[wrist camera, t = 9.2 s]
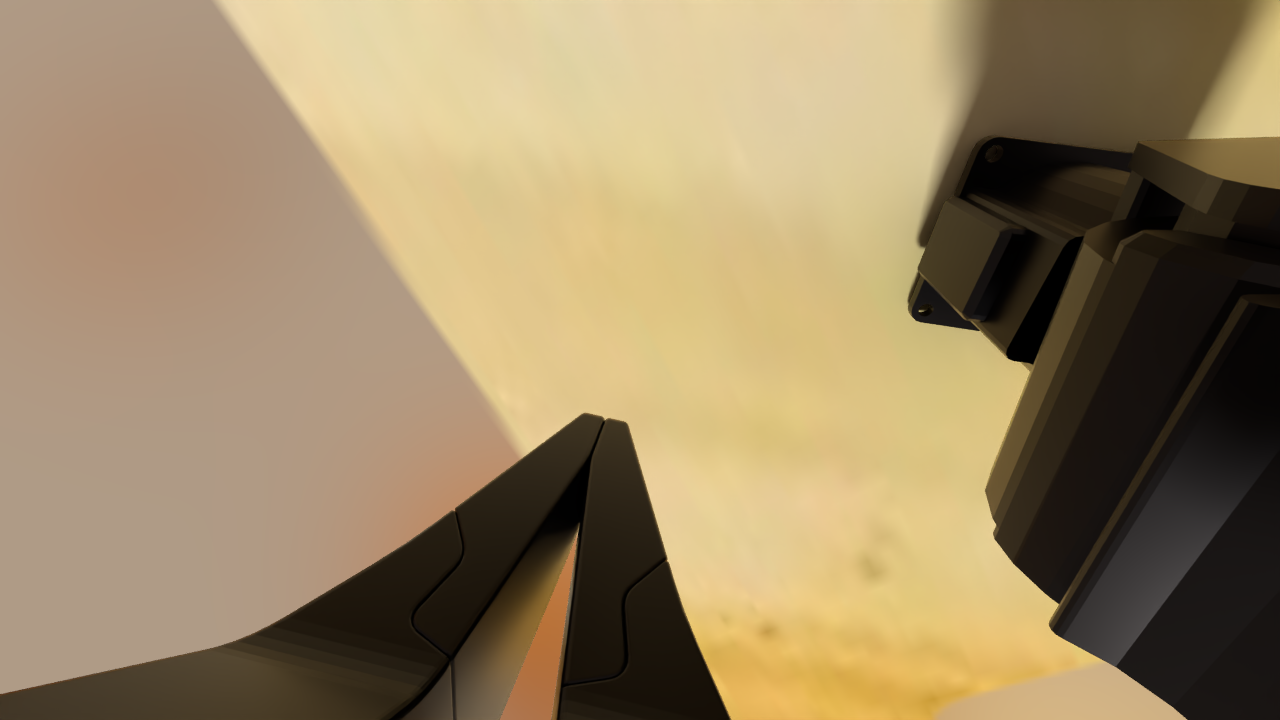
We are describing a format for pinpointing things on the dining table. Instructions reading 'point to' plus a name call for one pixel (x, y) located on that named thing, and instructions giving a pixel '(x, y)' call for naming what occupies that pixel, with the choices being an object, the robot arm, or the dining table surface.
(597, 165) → the dining table surface
